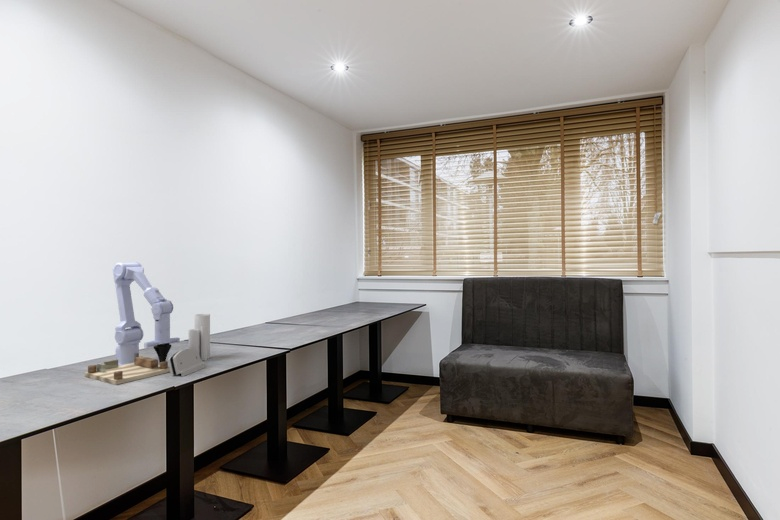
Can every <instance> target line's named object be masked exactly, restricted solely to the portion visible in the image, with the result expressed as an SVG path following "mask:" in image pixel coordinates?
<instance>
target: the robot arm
mask: <svg viewBox="0 0 780 520" xmlns="http://www.w3.org/2000/svg"><path fill="white" fill-rule="evenodd" d="M112 274H113V282H114V286H115V293H116V300H117V307H118V312H119V314H118V315H119V319H120V323H119V324H117V326H115V329H114V330H115V333H114V340H115V342H116V343H117V346H116V347H115V360H116V359H117V360H118V366H119V365H124V364H129V363H134V354H135V353H139V354H140V350H139V349H140V343H141V341H142V340H143V337H144V330H143V329H142V325H141V323H140V322H139V321H137V320H136V319H135V311H134V305H133V299H132V292H131V284H132V282H133V283H134V281H135V283H136V284H137V285H138V286H139V287H140V289H142V290H143V296H144V298H145V299H146V301H147V302H148V304H149V305H150V306H151V308H150V310H151V313H152V317H153V320H154V340H151V341H147V342H144V344H143V347H144V349H145V348H146V349H149V348H151V347H152V348H153V349H154V351H155V353H156V354H157V357H158V363H160V362H163V361H166V360H167V358H168V355H169V352H170V350H171V348H172V344H175V343H180V342H181V341H180V339H181V338H180V337H171V314H172V313H173V312H174V304H173V303H172V300H169V299H167V298H165V297H164V296H163V295H162V293H161V292H160V290H159V289H158V288H157V287H154V286H152V285H151V282H150V281H149V279H148V277H147V276H146V274H145V268H144V267H143V264H141V263H140V262H137V261H136V262H117V263H116V264H115V265H114V267H113V268H112Z"/></svg>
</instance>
